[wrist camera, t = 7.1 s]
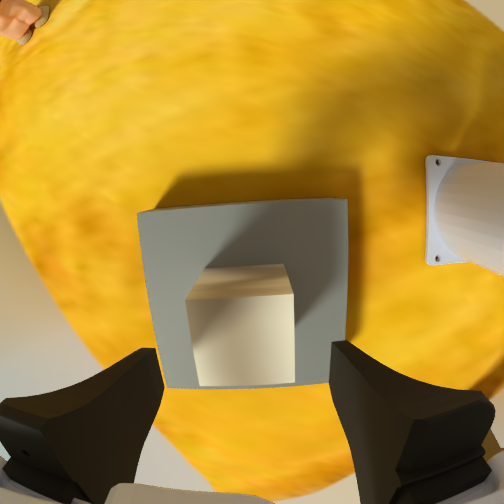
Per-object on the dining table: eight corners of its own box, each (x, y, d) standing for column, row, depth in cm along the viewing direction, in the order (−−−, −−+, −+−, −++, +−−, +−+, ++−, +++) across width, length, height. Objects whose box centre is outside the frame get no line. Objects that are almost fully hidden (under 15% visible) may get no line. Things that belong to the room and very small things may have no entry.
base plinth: (334, 197, 19) (347, 199, 16) (332, 358, 22) (341, 381, 19) (153, 208, 20) (136, 213, 17) (176, 365, 22) (167, 387, 19)
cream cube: (283, 263, 17) (293, 293, 12) (286, 334, 18) (294, 382, 13) (204, 268, 17) (184, 299, 13) (213, 338, 18) (199, 386, 14)
